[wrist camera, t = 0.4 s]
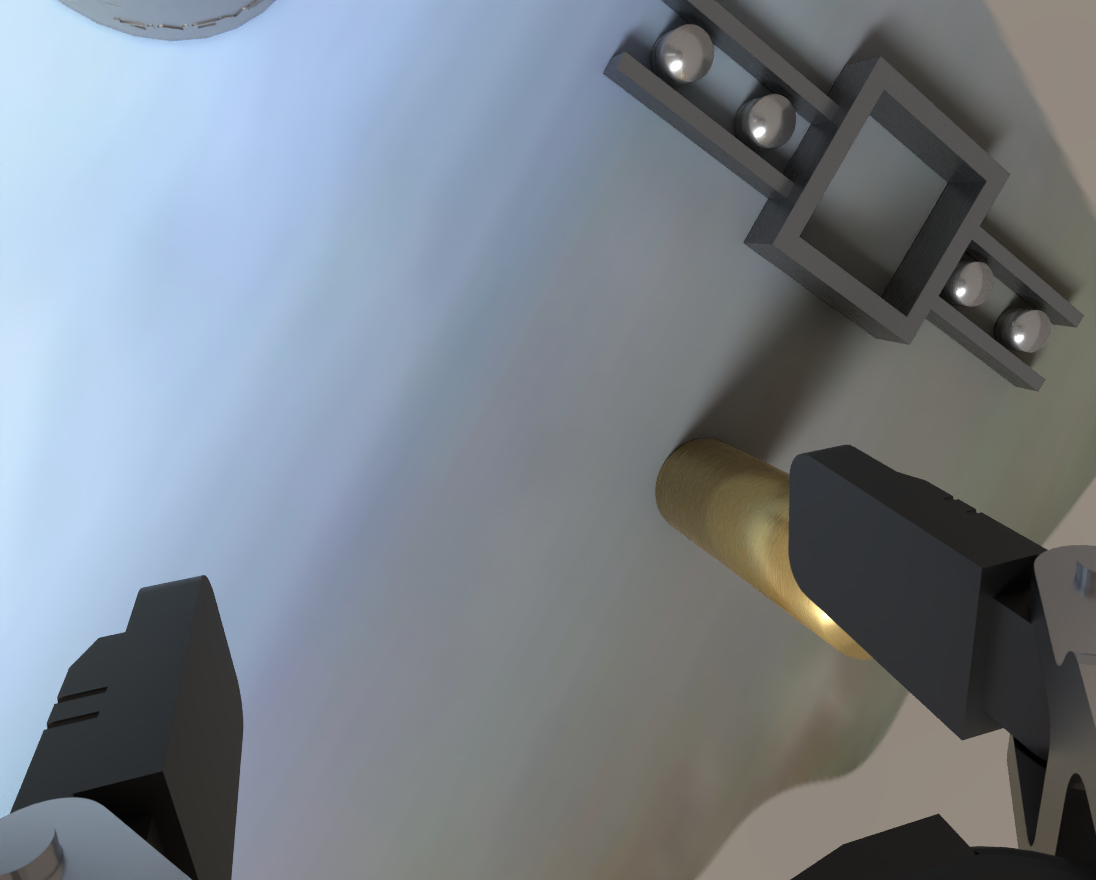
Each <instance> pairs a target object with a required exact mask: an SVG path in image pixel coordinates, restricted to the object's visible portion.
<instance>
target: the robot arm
mask: <svg viewBox="0 0 1096 880" xmlns="http://www.w3.org/2000/svg"><path fill="white" fill-rule="evenodd" d="M59 1H60V2H61V3H62V4H64V5H66V6H67V7H69V8H71V9H73V10H75V11H76V12H78V13H80V14H82V15H83V16H85V17H87V18H89V19H91V20H92V21H94V22H96V23H98V24H100V25H103V26H106V27H109V28H112V29H115V30H118V31H121V32H124V33H127V34H130V35H133V36H137V37H145V38H152V39H160V40H168V41H177V40H190V39H202V38H208V37H211V36H214V35H217V34H220V33H224V32H227V31H230V30H233V29H236V28H238V27H240V26H242V25H243V24H245V23H246V22H248V21H250V20H251V19H253V18H255V17H256V16H258V15H259V14H261V13H263V12H264V11H265V10H266V9H267V8H268V7H269V6H270V5H271V4H272V3H273V2H274V1H275V0H59ZM788 555H789V562H790V567H791V570H792V573H793V576H794V578H795V581H796V583H797V584H798V586H799V588H800V589H801V591H802V592H803V593H804V594H805V595H806V596H807V597H808V598H809V599H810V600H811V601H812V602H813V603H814V604H815V605H816V606H818V607H819V608H820V609H821V610H822V611H823V612H824V613H825V614H826V615H827V616H828V617H829V618H831V619H832V620H833V621H834V622H835V623H836V624H837V625H838V626H839V627H840V628H841V629H842V630H843V631H845V632H846V633H847V634H848V635H849V636H850V637H851V638H852V639H853V640H854V641H855V642H856V643H858V644H859V645H860V646H861V647H862V648H863V649H864V650H865V651H866V652H867V653H868V654H869V655H870V656H872V657H873V658H874V659H875V660H876V661H877V662H878V663H879V664H880V665H881V666H882V667H883V668H885V669H886V670H887V671H888V672H889V673H890V674H891V675H892V676H893V677H894V678H895V679H896V680H897V681H899V682H900V683H901V684H902V685H903V686H904V687H905V688H906V689H907V690H908V691H909V692H910V693H912V694H913V695H914V696H915V697H916V698H917V699H918V700H919V701H920V702H921V703H922V704H923V705H925V706H926V707H927V708H928V709H929V710H930V711H931V712H932V713H933V714H934V715H935V716H936V717H937V718H939V719H940V720H941V721H942V722H943V723H944V724H945V725H946V726H947V727H948V728H949V729H950V730H951V731H953V732H954V733H955V734H956V735H957V736H958V737H959V738H960V739H961V740H965V739H968V738H971V737H975V736H978V735H982V734H985V733H988V732H992V731H995V730H998V729H1001V728H1004V729H1006V730H1007V731H1008V732H1009V733H1010V738H1009V744H1008V752H1007V765H1008V772H1009V780H1010V788H1011V795H1012V803H1013V811H1014V818H1015V825H1016V833H1017V841H1018V849H1015V848H1007V847H984V846H976V847H969V846H968V844H967V843H966V842H965V841H964V840H963V839H962V838H961V837H960V836H959V835H958V834H957V833H956V832H955V831H954V830H953V828H952V827H951V826H950V825H949V824H948V823H947V822H946V821H945V820H944V819H943V818H942V817H941V816H940V814H937V815H933V816H930V817H927V818H924V819H921V820H918V821H915V822H911V823H908V824H905V825H902V826H899V827H896V828H893V829H890V830H886V831H884V832H880V833H877V834H874V835H871V836H868V837H865V838H862V839H859V840H855V841H852V842H849V843H846V844H843V845H842V846H840V847H839V848H837V849H836V850H834V851H833V852H831V853H830V854H828V855H827V856H825V857H824V858H822V859H821V860H819V861H818V862H816V863H815V864H813V865H812V866H810V867H809V868H807V869H806V870H804V871H803V872H801V873H800V874H798V875H797V876H795V877H794V878H792V879H791V880H1096V546H1088V545H1074V546H1073V545H1071V546H1062V547H1058V548H1053V549H1050V550H1047V549H1045V548H1043V547H1041V546H1040V545H1038V544H1036V543H1034V542H1033V541H1031V540H1029V539H1027V538H1026V537H1024V536H1022V535H1020V534H1019V533H1017V532H1015V531H1013V530H1012V529H1010V528H1008V527H1006V526H1004V525H1003V524H1001V523H999V522H997V521H996V520H994V519H992V518H990V517H989V516H987V515H985V514H983V513H982V512H981V513H976V509H975V508H973V507H971V506H969V505H968V504H966V503H964V502H962V501H961V500H959V499H957V500H954V499H953V496H952V495H950V494H948V493H947V492H945V491H943V490H941V489H940V488H938V487H936V486H934V485H932V484H931V483H929V482H927V481H925V480H922V479H919V478H916V477H912V476H909V475H906V474H902V473H899V472H896V471H894V470H893V469H891V468H889V467H888V466H886V465H884V464H882V463H881V462H879V461H877V460H876V459H874V458H872V457H870V456H869V455H867V454H865V453H864V452H862V451H860V450H858V449H857V448H855V447H853V446H851V445H842V446H837V447H832V448H827V449H822V450H817V451H813V452H808V453H803V454H799V455H797V456H796V457H795V458H794V460H793V461H792V464H791V468H790V485H789V540H788ZM57 699H58V703H57V704H54V707H53V709H52V712H51V714H50V717H49V719H48V721H47V729H46V730H44V731H43V734H42V736H41V739H40V741H39V744H38V746H37V748H36V751H35V753H34V756H33V758H32V761H31V763H30V766H29V768H28V771H27V773H26V775H25V778H24V780H23V783H22V785H21V788H20V790H19V793H18V795H17V798H16V800H15V802H14V805H13V807H12V810H11V812H10V814H9V815H7V816H5V817H2V818H1V819H0V880H231V875H232V863H233V850H234V838H235V826H236V813H237V801H238V789H239V776H240V764H241V752H242V739H243V711H242V702H241V695H240V690H239V685H238V680H237V676H236V673H235V669H234V665H233V662H232V658H231V654H230V651H229V647H228V643H227V640H226V636H225V632H224V629H223V625H222V621H221V618H220V614H219V610H218V607H217V603H216V599H215V596H214V592H213V589H212V586H211V584H210V582H209V580H208V578H207V577H206V576H205V575H202V576H197V577H193V578H188V579H183V580H178V581H173V582H168V583H163V584H158V585H154V586H149V587H144V588H141V589H140V590H139V592H138V595H137V598H136V601H135V604H134V607H133V610H132V614H131V617H130V620H129V623H128V626H127V629H126V632H124V633H120V634H115V635H110V636H106V637H101V638H98V639H97V640H96V641H95V642H94V643H93V644H92V645H91V646H90V647H89V648H88V649H87V650H86V652H85V653H84V654H83V655H82V656H81V657H80V658H79V659H78V660H77V661H76V662H75V663H74V664H73V665H72V666H71V667H70V668H69V670H68V672H67V675H66V677H65V680H64V682H63V685H62V687H61V690H60V692H59V694H58V697H57Z"/></svg>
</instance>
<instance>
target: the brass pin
mask: <svg viewBox="0 0 1096 880" xmlns="http://www.w3.org/2000/svg"><path fill="white" fill-rule="evenodd" d="M789 485H790V474H788V473H786V472H784V471H782V470H780V469H778V468H776V467H774V466H772V465H770V464H767V463H765V462H763V461H761V460H759V459H757V458H755V457H753V456H751V455H749V454H747V453H745V452H743V451H740V450H738V449H736V448H734V447H732V446H730V445H728V444H726V443H724V442H722V441H719V440H716V439H711V438H702V439H696V440H692V441H690V442H687V443H685V444H684V445H682V446H680V447H679V448H678V449H676V450H675V451H674V452H673V453H672V454H671V455H670V456H669V457H668V458H667V460H666V461H665V463H664V464H663V466H662V468H661V470H660V472H659V475H658V478H657V482H656V490H655V491H656V502H657V506H658V509H659V511H660V513H661V515H662V516H663V518H664V519H665V520H666V521H667V522H668V523H669V524H670V525H671V526H672V527H674V528H675V529H676V530H678V531H679V532H680V533H682V534H683V535H684V536H686V537H687V538H688V539H690V540H691V541H692V542H694V543H695V544H696V545H698V546H699V547H700V548H702V549H703V550H705V551H706V552H707V553H709V554H710V555H711V556H713V557H714V558H715V559H717V560H718V561H719V562H721V563H722V564H723V565H725V566H726V567H727V568H729V569H730V570H731V571H733V572H734V573H735V574H737V575H738V576H739V577H741V578H742V579H743V580H745V581H746V582H747V583H749V584H750V585H751V586H753V587H754V588H755V589H757V590H758V591H759V592H761V593H762V594H764V595H765V596H766V597H768V598H769V599H770V600H772V601H773V602H774V603H776V604H777V605H778V606H780V607H781V608H782V609H784V610H785V611H786V612H788V613H789V614H790V615H792V616H793V617H794V618H796V619H797V620H798V621H800V622H801V623H802V624H804V625H805V626H806V627H808V628H809V629H810V630H812V631H813V632H814V633H816V634H817V635H819V636H820V637H821V638H823V639H824V640H825V641H827V642H828V643H829V644H831V645H832V646H833V647H835V648H836V649H837V650H839V651H840V652H842V653H843V654H845V655H847V656H850V657H852V658H857V659H874V658H873V657H872V656H870V655H869V654H868V653H867V652H866V651H865V650H864V649H863V648H862V647H861V646H860V645H859V644H858V643H856V642H855V641H854V640H853V639H852V638H851V637H850V636H849V635H848V634H847V633H846V632H845V631H843V630H842V629H841V628H840V627H839V626H838V625H837V624H836V623H835V622H834V621H833V620H832V619H831V618H829V617H828V616H827V615H826V614H825V613H824V612H823V611H822V610H821V609H820V608H819V607H818V606H816V605H815V604H814V603H813V602H812V601H811V600H810V599H809V598H808V597H807V596H806V595H805V594H804V593H803V592H802V591H801V589H800V588H799V586H798V584H797V583H796V581H795V578H794V576H793V573H792V570H791V567H790V562H789V555H788V540H789Z"/></svg>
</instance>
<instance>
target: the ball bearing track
mask: <svg viewBox="0 0 1096 880" xmlns="http://www.w3.org/2000/svg"><path fill="white" fill-rule="evenodd" d="M662 1H663V2H664V3H666V4H667V5H668V6H669V7H670V8H672V9H673V10H674V11H675V12H676V13H678V14H679V15H680V16H681V17H682V18H684V19H685V20H686V21H687V22H688V23H690V24H686V25H683V26H680V27H678V28H676V29H674V30H672V31H670V32H667V33H665V34H663V35H662V36H661V37H660V38H659V39H658V40H657V41H656V43H655V44H654V46H653V49H652V53H651V64H652V68H653V71H654V73H655V74H653V73H652V72H651V71H650V70H648V69H647V68H646V67H644V66H643V65H642V64H641V63H639V62H638V61H637V60H635V59H634V58H633V57H632V56H630V55H629V54H628V53H627V52H623V53H621V54H619V55H617V56H615V57H612V58H611V60H610V62H609V64H608V65H607V67H606V69H605V71H604V73H603V74H604V75H606V76H607V77H608V78H610V79H611V80H612V81H614V82H615V83H616V84H618V85H619V86H620V87H622V88H623V89H624V90H626V91H627V92H628V93H630V94H631V95H632V96H633V97H635V98H636V99H637V100H639V101H640V102H641V103H643V104H644V105H645V106H647V107H648V108H649V109H651V110H652V111H653V112H655V113H656V114H657V115H659V116H660V117H661V118H663V119H664V120H665V121H666V122H668V123H669V124H670V125H672V126H673V127H674V128H676V129H677V130H678V131H680V132H681V133H682V134H684V135H685V136H686V137H688V138H689V139H690V140H692V141H693V142H694V143H695V144H697V145H698V146H699V147H701V148H702V149H703V150H705V151H706V152H707V153H709V154H710V155H711V156H713V157H714V158H715V159H717V160H718V161H719V162H721V163H722V164H723V165H725V166H726V167H727V168H728V169H730V170H731V171H732V172H734V173H735V174H736V175H738V176H739V177H740V178H742V179H743V180H744V181H746V182H747V183H748V184H750V185H751V186H752V187H754V188H755V189H756V190H757V191H759V192H760V193H761V194H763V195H764V196H765V197H767V198H768V199H769V200H768V201H767V203H766V205H765V207H764V208H763V210H762V212H761V214H760V215H759V217H758V219H757V221H756V222H755V224H754V226H753V228H752V229H751V231H750V233H749V235H748V236H747V238H746V240H745V242H744V244H746V245H747V246H748V247H750V248H751V249H753V250H754V251H755V252H757V253H758V254H760V255H761V256H762V257H764V258H765V259H767V260H768V261H769V262H771V263H772V264H773V265H775V266H776V267H778V268H779V269H780V270H782V271H783V272H785V273H786V274H787V275H789V276H790V277H792V278H793V279H794V280H796V281H797V282H799V283H800V284H801V285H803V286H804V287H805V288H807V289H808V290H810V291H811V292H812V293H814V294H815V295H817V296H818V297H819V298H821V299H822V300H824V301H825V302H826V303H828V304H829V305H830V306H832V307H833V308H835V309H836V310H837V311H839V312H840V313H842V314H843V315H844V316H846V317H847V318H849V319H850V320H851V321H853V322H854V323H856V324H857V325H858V326H860V327H861V328H862V329H864V330H865V331H867V332H868V333H869V334H871V335H872V336H874V337H875V338H877V339H882V340H887V341H892V342H898V343H903V344H908V345H910V343H911V342H912V340H913V338H914V337H915V335H916V333H917V332H918V330H919V328H920V327H921V325H922V323H923V321H924V320H925V318H926V319H928V320H929V321H930V322H932V323H933V324H934V325H936V326H937V327H938V328H940V329H941V330H942V331H943V332H945V333H946V334H947V335H949V336H950V337H951V338H953V339H954V340H955V341H957V342H958V343H959V344H961V345H962V346H963V347H965V348H966V349H967V350H969V351H970V352H971V353H973V354H974V355H975V356H976V357H978V358H979V359H980V360H982V361H983V362H984V363H986V364H987V365H988V366H990V367H991V368H992V369H994V370H995V371H996V372H998V373H999V374H1000V375H1002V376H1003V377H1004V378H1005V379H1007V380H1008V381H1009V382H1011V383H1012V384H1013V385H1015V386H1016V387H1020V388H1025V389H1029V390H1034V391H1039V390H1040V388H1041V386H1042V385H1043V383H1044V381H1045V380H1046V379H1044V378H1043V377H1042V376H1040V375H1039V374H1038V373H1037V372H1035V371H1034V370H1033V369H1031V368H1030V367H1029V366H1028V365H1026V364H1025V363H1024V362H1022V361H1021V360H1020V359H1019V358H1017V357H1016V356H1015V355H1013V354H1012V353H1011V352H1010V351H1008V350H1007V349H1013V350H1018V351H1024V352H1035V351H1037V350H1039V349H1040V348H1041V347H1042V346H1043V345H1044V344H1045V343H1046V341H1047V339H1048V337H1049V334H1050V322H1051V323H1052V324H1054V325H1062V326H1070V327H1077V326H1078V325H1079V323H1080V321H1081V320H1082V318H1083V316H1084V315H1083V314H1082V313H1081V312H1080V311H1078V310H1077V309H1076V308H1075V307H1074V306H1073V305H1071V304H1070V303H1069V302H1068V301H1067V300H1066V299H1064V298H1063V297H1062V296H1061V295H1060V294H1059V293H1057V292H1056V291H1055V290H1054V289H1053V288H1051V287H1050V286H1049V285H1048V284H1047V283H1046V282H1044V281H1043V280H1042V279H1041V278H1040V277H1039V276H1037V275H1036V274H1035V273H1034V272H1033V271H1032V270H1030V269H1029V268H1028V267H1027V266H1026V265H1025V264H1023V263H1022V262H1021V261H1020V260H1019V259H1018V258H1016V257H1015V256H1014V255H1013V254H1012V253H1011V252H1009V251H1008V250H1007V249H1006V248H1005V247H1003V246H1002V245H1001V244H1000V243H999V242H998V241H996V240H995V239H994V238H993V237H992V236H991V235H989V234H988V233H987V232H986V231H985V230H984V229H982V228H981V227H980V225H981V223H982V221H983V220H984V218H985V216H986V215H987V213H988V211H989V209H990V208H991V206H992V204H993V203H994V201H995V199H996V198H997V196H998V194H999V192H1000V191H1001V189H1002V187H1003V186H1004V184H1005V182H1006V181H1007V179H1008V177H1009V176H1010V173H1008V172H1007V171H1006V170H1005V169H1004V168H1003V167H1002V166H1001V165H1000V164H999V163H998V162H996V161H995V160H994V159H993V158H992V157H991V156H990V155H989V154H988V153H987V152H985V151H984V150H983V149H982V148H981V147H980V146H979V145H978V144H977V143H976V142H974V141H973V140H972V139H971V138H970V137H969V136H968V135H967V134H966V133H965V132H964V131H962V130H961V129H960V128H959V127H958V126H957V125H956V124H955V123H954V122H953V121H951V120H950V119H949V118H948V117H947V116H946V115H945V114H944V113H943V112H942V111H941V110H939V109H938V108H937V107H936V106H935V105H934V104H933V103H932V102H931V101H930V100H928V99H927V98H926V97H925V96H924V95H923V94H922V93H921V92H920V91H919V90H917V89H916V88H915V87H914V86H913V85H912V84H911V83H910V82H909V81H908V80H907V79H905V78H904V77H903V76H902V75H901V74H900V73H899V72H898V71H897V70H896V69H894V68H893V67H892V66H891V65H890V64H889V63H888V62H887V61H886V60H885V59H883V58H882V57H881V56H878V57H875V58H871V59H867V60H863V61H859V62H856V63H852V64H848V65H845V67H844V68H843V70H842V72H841V74H840V75H839V77H838V79H837V81H836V82H835V84H834V86H833V88H832V89H831V91H830V93H829V95H828V96H827V95H826V94H824V93H823V92H822V91H821V90H820V89H819V88H817V87H816V86H815V85H814V84H813V83H811V82H810V81H809V80H808V79H807V78H806V77H804V76H803V75H802V74H801V73H800V72H799V71H797V70H796V69H795V68H794V67H793V66H792V65H790V64H789V63H788V62H787V61H786V60H785V59H783V58H782V57H781V56H780V55H779V54H778V53H776V52H775V51H774V50H773V49H772V48H770V47H769V46H768V45H767V44H766V43H765V42H763V41H762V40H761V39H760V38H759V37H758V36H756V35H755V34H754V33H753V32H752V31H751V30H749V29H748V28H747V27H746V26H745V25H744V24H742V23H741V22H740V21H739V20H738V19H737V18H735V17H734V16H733V15H732V14H731V13H730V12H728V11H727V10H726V9H725V8H724V7H722V6H721V5H720V4H719V3H718V2H717V1H715V0H662ZM712 42H713V43H714V44H715V45H716V46H718V47H719V48H720V49H721V50H722V51H724V52H725V53H726V54H727V55H728V56H730V57H731V58H732V59H733V60H734V61H736V62H737V63H738V64H739V65H740V66H742V67H743V68H744V69H745V70H747V71H748V72H749V73H750V74H751V75H753V76H754V77H755V78H756V79H757V80H759V81H760V82H761V83H762V84H763V85H765V86H766V87H767V88H768V89H769V90H771V91H772V92H773V93H774V94H771V95H767V96H763V97H759V98H755V99H751V100H749V101H747V102H745V103H744V104H743V105H742V106H741V107H740V109H739V110H738V112H737V115H736V118H735V132H736V136H737V138H738V139H737V138H735V137H734V136H733V135H732V134H730V133H729V132H728V131H726V130H725V129H724V128H723V127H721V126H720V125H719V124H717V123H716V122H715V121H714V120H712V119H711V118H710V117H709V116H707V115H706V114H705V113H703V112H702V111H701V110H700V109H698V108H697V107H696V106H694V105H693V104H692V103H691V102H689V101H688V100H687V99H685V98H684V97H683V96H682V95H680V94H679V93H678V92H676V91H675V90H674V89H673V88H671V87H670V86H681V85H684V84H687V83H690V82H693V81H696V80H699V79H701V78H702V77H703V76H705V75H706V74H707V72H708V71H709V69H710V67H711V65H712V62H713V57H714V49H713V44H712ZM794 110H795V111H796V112H797V113H798V114H800V115H801V116H802V117H803V118H805V119H806V120H807V121H808V122H809V123H811V126H810V128H809V130H808V131H807V133H806V135H805V137H804V138H803V140H802V142H801V144H800V145H799V147H798V149H797V151H796V152H795V154H794V156H793V158H792V159H791V161H790V163H789V165H788V166H787V168H786V170H785V172H784V173H783V174H782V173H780V172H779V171H778V170H776V169H775V168H774V167H773V166H771V165H770V164H769V163H767V162H766V161H765V160H764V159H762V158H761V157H760V156H758V155H757V154H756V153H755V152H753V151H752V150H760V149H767V148H774V147H779V146H781V145H783V144H784V143H786V142H787V141H788V140H789V139H790V137H791V136H792V134H793V132H794V129H795V124H796V115H795V111H794ZM869 115H871V116H872V117H873V118H874V119H875V120H876V121H878V122H879V123H880V124H881V125H882V126H883V127H884V128H886V129H887V130H888V131H889V132H890V133H891V134H893V135H894V136H895V137H896V138H897V139H898V140H899V141H901V142H902V143H903V144H904V145H905V146H906V147H908V148H909V149H910V150H911V151H912V152H913V153H914V154H916V155H917V156H918V157H919V158H920V159H921V160H923V161H924V162H925V163H926V164H927V165H928V166H929V167H931V168H932V169H933V170H934V171H935V172H936V173H938V174H939V175H940V176H941V177H942V178H943V179H945V180H946V181H947V182H948V185H947V187H946V189H945V190H944V192H943V194H942V195H941V197H940V199H939V201H938V202H937V204H936V206H935V207H934V209H933V211H932V212H931V214H930V216H929V218H928V219H927V221H926V223H925V224H924V226H923V228H922V230H921V231H920V233H919V235H918V236H917V238H916V240H915V242H914V243H913V245H912V247H911V248H910V250H909V252H908V254H907V255H906V257H905V259H904V260H903V262H902V264H901V265H900V267H899V269H898V271H897V272H896V274H895V276H894V277H893V279H892V281H891V283H890V284H889V286H888V288H887V289H886V291H885V293H884V295H883V296H882V298H881V297H879V296H878V295H877V294H875V293H874V292H873V291H871V290H870V289H869V288H867V287H866V286H865V285H863V284H862V283H861V282H859V281H858V280H857V279H855V278H854V277H853V276H851V275H850V274H849V273H847V272H846V271H845V270H843V269H842V268H841V267H839V266H838V265H837V264H835V263H834V262H833V261H831V260H830V259H829V258H827V257H826V256H825V255H823V254H822V253H821V252H819V251H818V250H817V249H815V248H814V247H813V246H811V245H810V244H809V243H807V242H806V241H805V240H803V239H802V238H801V237H799V236H800V234H801V233H802V231H803V229H804V227H805V226H806V224H807V222H808V220H809V219H810V217H811V215H812V213H813V212H814V210H815V208H816V206H817V205H818V203H819V201H820V200H821V198H822V196H823V194H824V193H825V191H826V189H827V187H828V186H829V184H830V182H831V180H832V179H833V177H834V175H835V173H836V172H837V170H838V168H839V167H840V165H841V163H842V161H843V160H844V158H845V156H846V154H847V153H848V151H849V149H850V147H851V146H852V144H853V142H854V140H855V139H856V137H857V135H858V134H859V132H860V130H861V128H862V127H863V125H864V123H865V121H866V120H867V118H868V116H869ZM964 252H967V253H968V254H969V255H970V256H971V257H973V258H974V259H975V260H976V261H977V262H971V261H959V260H960V259H961V257H962V255H963V254H964ZM993 275H994V276H996V277H997V278H998V279H999V280H1000V281H1002V282H1003V283H1004V284H1005V285H1006V286H1008V287H1009V288H1010V289H1011V290H1012V291H1014V292H1015V293H1016V294H1017V295H1019V296H1020V297H1021V298H1022V299H1023V300H1025V301H1026V302H1027V303H1028V304H1029V305H1031V306H1032V307H1033V308H1034V309H1035V310H1031V309H1023V308H1010V309H1008V310H1006V311H1005V312H1003V313H1002V314H1001V316H1000V317H999V319H998V321H997V323H996V326H995V338H996V340H994V339H993V338H992V337H990V336H989V335H988V334H987V333H985V332H984V331H983V330H981V329H980V328H979V327H978V326H976V325H975V324H974V323H972V322H971V321H970V320H969V319H967V318H966V317H965V316H964V315H962V314H961V313H960V312H958V311H957V310H956V309H955V308H953V307H952V306H951V305H949V304H956V305H964V306H978V305H980V304H982V303H983V302H984V301H985V300H986V299H987V298H988V296H989V295H990V293H991V291H992V287H993ZM1006 348H1007V349H1006Z"/></svg>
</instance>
